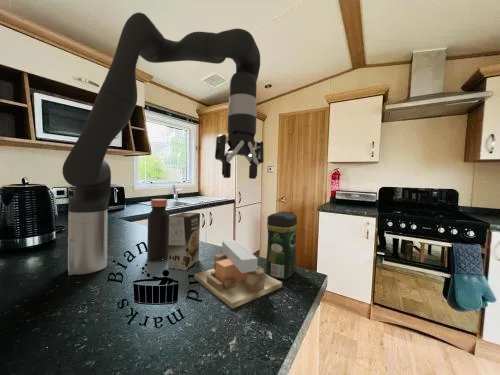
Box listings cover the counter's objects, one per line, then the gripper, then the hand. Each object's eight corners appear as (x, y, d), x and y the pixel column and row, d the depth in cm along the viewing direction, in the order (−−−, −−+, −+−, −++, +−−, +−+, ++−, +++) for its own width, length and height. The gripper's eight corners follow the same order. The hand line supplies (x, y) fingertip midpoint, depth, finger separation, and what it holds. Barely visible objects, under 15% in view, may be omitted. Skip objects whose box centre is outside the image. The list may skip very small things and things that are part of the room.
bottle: (169, 253, 80) (170, 198, 79) (168, 260, 73) (169, 200, 72) (148, 255, 77) (149, 198, 77) (145, 262, 71) (146, 200, 70)
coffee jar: (274, 265, 72) (277, 208, 72) (298, 271, 68) (300, 211, 68) (260, 275, 64) (263, 212, 63) (286, 283, 60) (289, 215, 59)
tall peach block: (223, 286, 54) (224, 266, 54) (215, 280, 57) (215, 261, 57) (256, 275, 62) (257, 257, 61) (247, 270, 65) (248, 253, 64)
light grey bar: (241, 273, 51) (242, 260, 51) (222, 251, 66) (222, 241, 66) (257, 270, 53) (257, 258, 53) (234, 249, 67) (235, 240, 67)
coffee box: (186, 271, 66) (188, 217, 65) (167, 268, 67) (168, 215, 66) (199, 260, 75) (201, 212, 74) (182, 258, 76) (183, 211, 75)
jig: (232, 308, 47) (232, 284, 47) (194, 278, 61) (194, 259, 61) (281, 287, 58) (282, 266, 58) (239, 265, 72) (240, 248, 71)
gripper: (253, 123, 65) (251, 178, 66) (210, 113, 56) (209, 177, 57) (271, 119, 59) (269, 179, 60) (227, 106, 50) (225, 177, 51)
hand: (240, 178), depth 58 cm, fingers open, 8 cm apart
